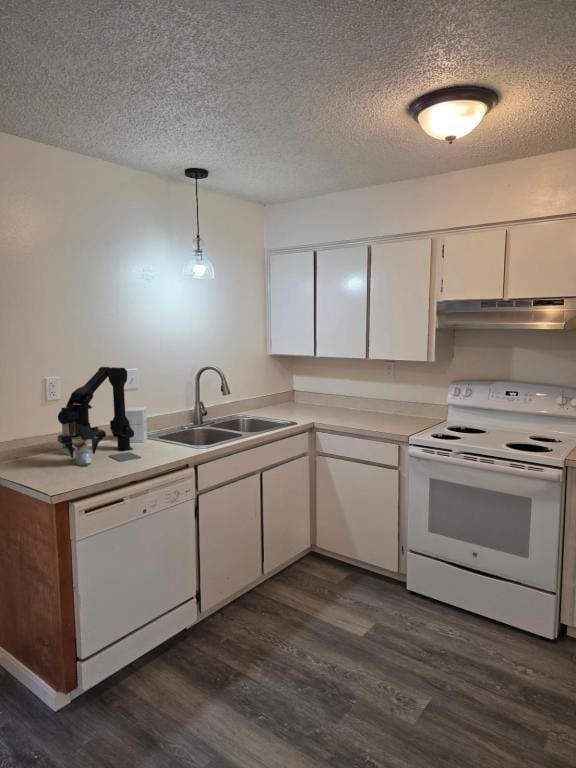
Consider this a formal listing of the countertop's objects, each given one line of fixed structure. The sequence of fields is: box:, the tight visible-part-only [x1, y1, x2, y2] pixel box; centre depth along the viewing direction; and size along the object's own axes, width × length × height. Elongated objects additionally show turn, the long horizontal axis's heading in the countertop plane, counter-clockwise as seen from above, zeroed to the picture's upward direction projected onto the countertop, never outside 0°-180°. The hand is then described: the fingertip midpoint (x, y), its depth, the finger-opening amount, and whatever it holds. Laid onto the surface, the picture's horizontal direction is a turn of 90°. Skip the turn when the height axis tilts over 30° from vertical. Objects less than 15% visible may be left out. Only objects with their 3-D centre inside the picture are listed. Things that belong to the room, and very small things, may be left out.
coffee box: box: [61, 422, 89, 456], centre depth 234 cm, size 9×6×16 cm
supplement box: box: [125, 406, 148, 444], centre depth 260 cm, size 10×9×17 cm
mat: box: [108, 451, 142, 463], centre depth 228 cm, size 12×10×1 cm
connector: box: [74, 450, 93, 467], centre depth 216 cm, size 12×4×5 cm, turn 43°
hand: (83, 455), depth 217 cm, fingers open, 9 cm apart
